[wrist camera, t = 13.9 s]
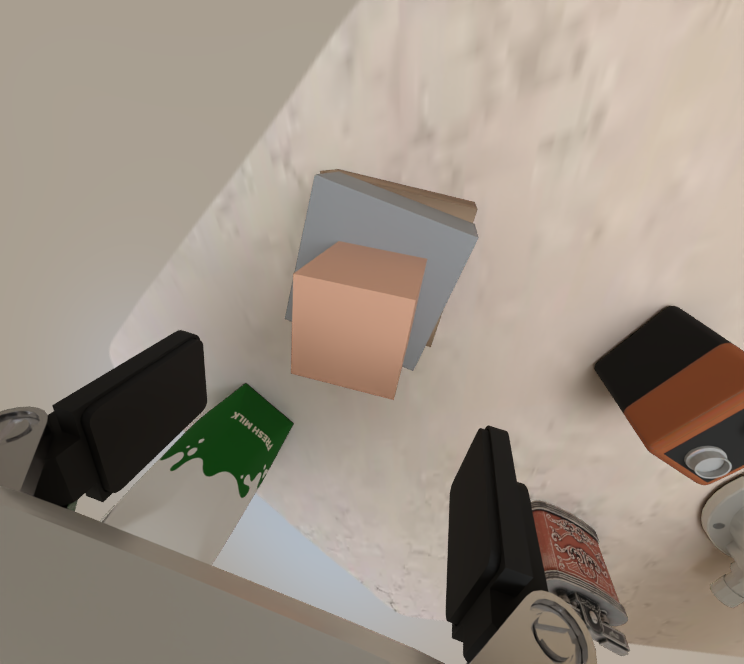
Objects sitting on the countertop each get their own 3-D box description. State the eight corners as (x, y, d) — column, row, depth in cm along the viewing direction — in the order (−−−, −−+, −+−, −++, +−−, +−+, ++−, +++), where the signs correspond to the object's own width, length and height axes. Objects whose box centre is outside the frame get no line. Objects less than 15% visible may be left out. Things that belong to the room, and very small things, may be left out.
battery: (716, 334, 24) (868, 437, 15) (631, 393, 27) (715, 505, 18) (669, 300, 23) (796, 386, 15) (589, 364, 27) (653, 465, 18)
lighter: (516, 510, 36) (536, 623, 27) (539, 495, 34) (567, 610, 25) (579, 546, 36) (618, 668, 28) (604, 532, 34) (654, 658, 26)
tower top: (419, 341, 25) (413, 370, 21) (308, 296, 25) (284, 318, 22) (474, 223, 20) (478, 237, 17) (338, 171, 21) (314, 174, 17)
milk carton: (206, 411, 39) (12, 608, 22) (244, 371, 35) (41, 578, 18) (263, 456, 41) (123, 674, 24) (306, 424, 37) (173, 661, 20)
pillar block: (409, 338, 20) (393, 399, 15) (331, 319, 21) (290, 373, 16) (427, 258, 18) (415, 300, 13) (338, 240, 19) (293, 273, 13)
